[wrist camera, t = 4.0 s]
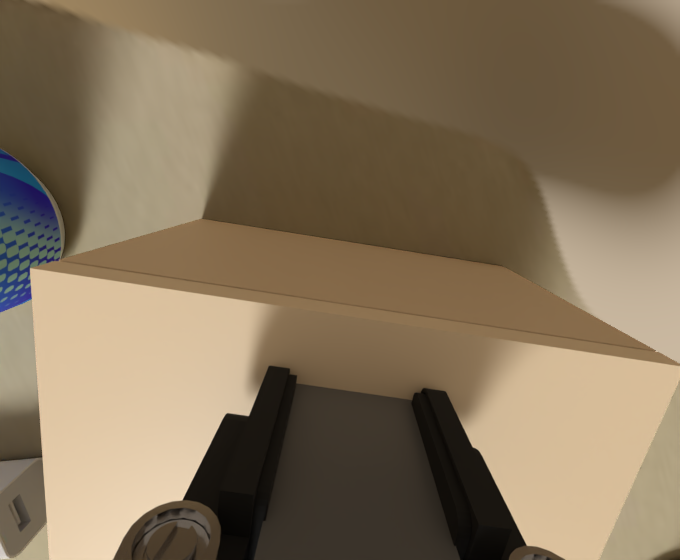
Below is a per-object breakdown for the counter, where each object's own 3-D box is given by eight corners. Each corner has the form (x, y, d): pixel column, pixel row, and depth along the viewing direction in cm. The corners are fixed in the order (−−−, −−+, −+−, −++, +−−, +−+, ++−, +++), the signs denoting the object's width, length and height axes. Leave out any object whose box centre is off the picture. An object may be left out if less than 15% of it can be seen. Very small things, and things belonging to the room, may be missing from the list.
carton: (503, 266, 20) (655, 350, 10) (442, 480, 23) (512, 691, 14) (201, 218, 19) (58, 259, 10) (188, 445, 23) (75, 639, 13)
